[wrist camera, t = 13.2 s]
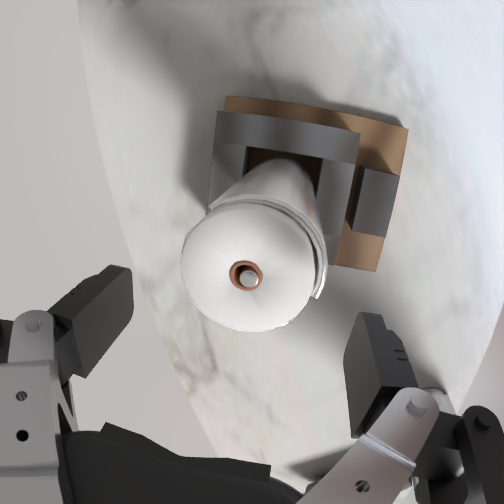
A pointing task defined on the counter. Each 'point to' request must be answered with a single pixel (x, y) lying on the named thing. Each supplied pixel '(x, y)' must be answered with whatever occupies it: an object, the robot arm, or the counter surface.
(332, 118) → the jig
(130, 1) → the counter surface
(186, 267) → the paper towel roll
